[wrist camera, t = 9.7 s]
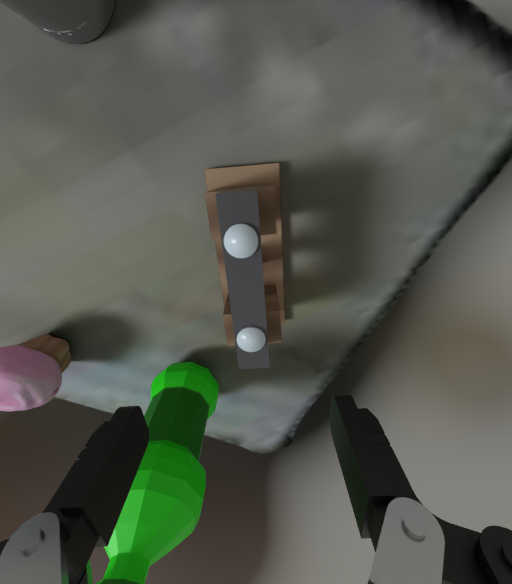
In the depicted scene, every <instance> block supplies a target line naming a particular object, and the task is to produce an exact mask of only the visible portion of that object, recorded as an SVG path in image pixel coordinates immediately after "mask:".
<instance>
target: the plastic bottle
mask: <svg viewBox="0 0 512 584" xmlns="http://www.w3.org/2000/svg"><path fill="white" fill-rule="evenodd" d="M218 392H219V386H218V383H217V381H216V380H215V378H214V377H213V375H212V374H211V372H210V371H209V369H207V368H206V367H203V366H201V365H198V364H196V363H194V362H182V363H173V364H171V365H170V366H168V367H167V368H166V369H165V370H164V371H162V372H161V373H160V374H159V375H158V376H157V377H155V378H154V380H153V382H152V384H151V403H150V405H149V407H148V409H147V411H146V414H145V416H144V418H145V421H146V424H147V426H148V429H149V442H148V446H147V449H146V451H145V454H144V456H143V459H142V461H141V464H140V466H139V469H138V471H137V474H136V476H135V479H134V481H133V484H132V486H131V489H130V491H129V494H128V496H127V499H126V501H125V504H124V506H123V509H122V511H121V514H120V516H119V519H118V521H117V524H116V526H115V529H114V531H113V534H112V536H111V539H110V541H109V544H108V546H104V548H105V550H106V552H107V554H108V556H109V558H110V562H109V565H108V567H107V570H106V573H105V575H104V578H103V580H101V581H99V582H98V583H96V584H145V580H146V577H147V573H148V569H149V566H151V565H152V564H153V563H155V562H156V561H158V560H159V559H160V558H161V557H163V556H164V555H166V554H167V553H168V552H170V551H171V550H172V549H173V548H175V547H176V546H177V545H178V544H179V543H180V542H182V541H183V540H184V539H185V538H186V537H187V536H189V535H190V534H191V533H192V532H193V530H194V528H195V526H196V524H197V522H198V520H199V518H200V513H201V508H202V503H203V497H204V491H205V485H206V483H205V482H206V480H205V470H204V469H203V467H202V466H201V464H200V463H199V456H200V451H201V446H202V441H203V436H204V432H205V427H206V422H207V419H208V418H209V417H210V416H211V415H212V413H213V412H214V411H215V409H216V403H217V398H218Z"/></svg>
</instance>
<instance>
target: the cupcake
mask: <svg viewBox="0 0 512 584" xmlns="http://www.w3.org/2000/svg"><path fill="white" fill-rule="evenodd" d="M70 362H71V353H70V349H69V343H68V342H67V341H65V340H64V339H60V338H55V337H53V336H51V335H42V336H39V337H37V338H34V339H31V340H29V341H26V342H24V343H21V344H19V345H12V346H6V347H1V348H0V410H1V411H17V410H27V409H31V408H34V407H38V406H41V405H43V404H45V403H47V402H49V401H50V400H51V399H52V398H53V397H54V396H55V395H56V394H57V392H58V390H59V388H60V386H61V382H62V373H63V371H64V370H65V369H66V368H67V367H68V365H69V364H70Z"/></svg>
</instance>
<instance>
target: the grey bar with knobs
mask: <svg viewBox="0 0 512 584" xmlns="http://www.w3.org/2000/svg"><path fill="white" fill-rule="evenodd" d="M215 196H216V203H217V211H218V218H219V226H220V233H221V240H222V248H223V255H224V263H225V270H226V278H227V285H228V293H229V300H230V307H231V315H232V322H233V330H234V337H235V345H236V352H237V359H238V367H239V369H256V368H270V364H269V349H268V334H267V320H266V306H265V292H264V278H263V263H262V249H261V235H260V221H259V207H258V192H257V188H248V189H236V190H224V191H220V192H218V193H216V194H215Z"/></svg>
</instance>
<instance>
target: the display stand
mask: <svg viewBox="0 0 512 584" xmlns="http://www.w3.org/2000/svg"><path fill="white" fill-rule="evenodd" d="M205 176H206V183H207V190H208V192H205V198H206V205H207V211H208V218H209V225H210V231H211V238H212V239H215V245H216V252H217V259H218V266H219V272H220V279H221V286H222V293H223V300H224V307H225V308H224V313H223V318H224V325H225V331H226V338H227V345H228V346H234V345H235V337H234V330H233V322H232V315H231V307H230V300H229V293H228V285H227V278H226V270H225V263H224V255H223V248H222V240H221V233H220V226H219V218H218V211H217V203H216V196H215V194H216V193H218V192H220V191H224V190H236V189H248V188H257V192H258V207H259V221H260V235H261V249H262V263H263V278H264V292H265V306H266V320H267V334H268V343H282V341H281V324H285V312H284V285H283V257H282V230H281V202H280V175H279V163H273V164H261V165H250V166H238V167H227V168H215V169H205Z"/></svg>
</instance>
